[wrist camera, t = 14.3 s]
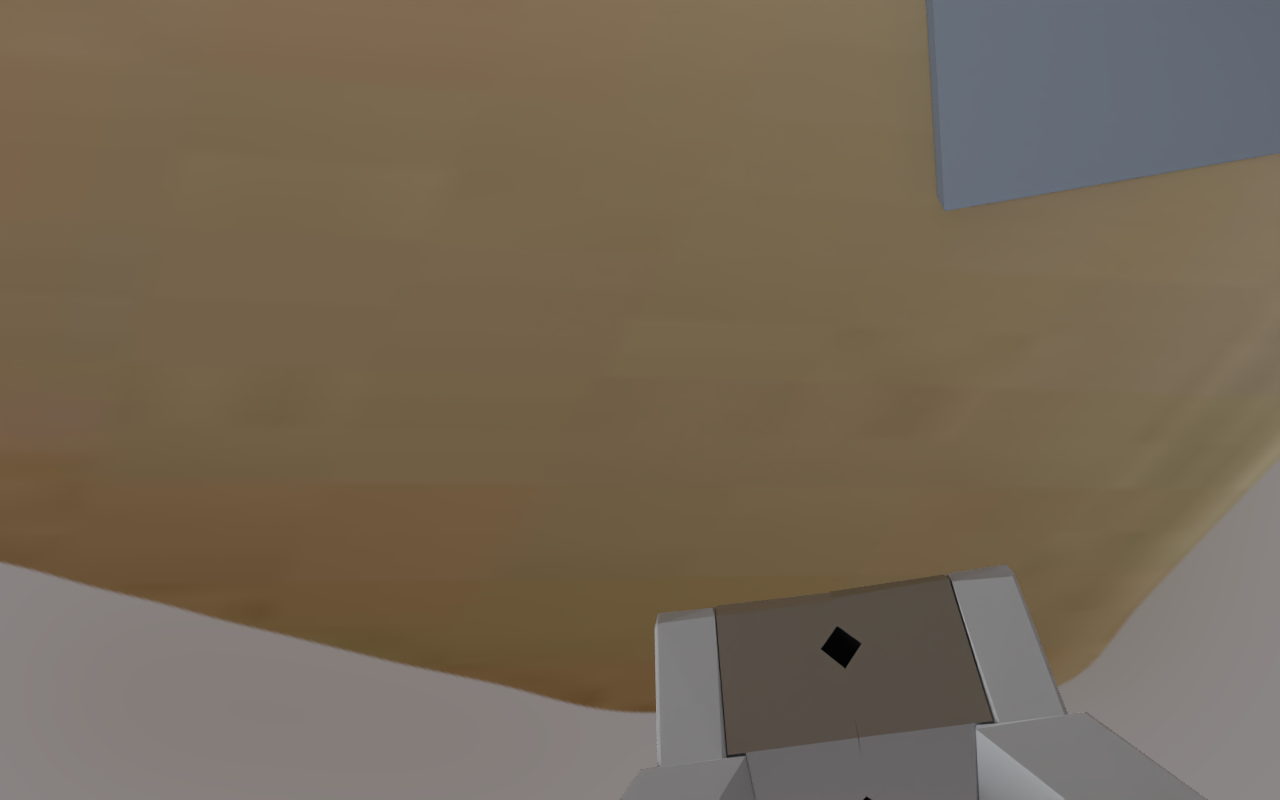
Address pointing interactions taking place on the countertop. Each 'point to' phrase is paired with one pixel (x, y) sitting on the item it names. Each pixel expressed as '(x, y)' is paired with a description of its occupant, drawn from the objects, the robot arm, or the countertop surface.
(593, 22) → the countertop surface
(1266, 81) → the board
